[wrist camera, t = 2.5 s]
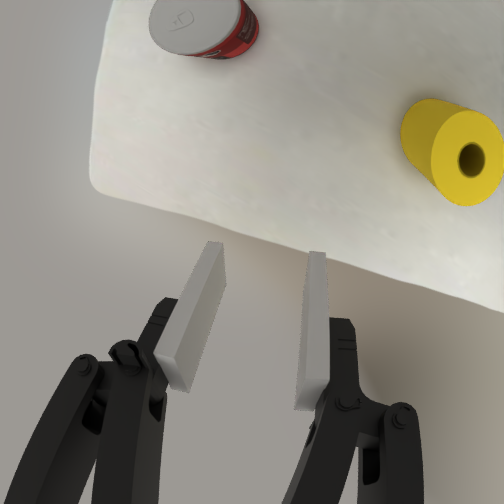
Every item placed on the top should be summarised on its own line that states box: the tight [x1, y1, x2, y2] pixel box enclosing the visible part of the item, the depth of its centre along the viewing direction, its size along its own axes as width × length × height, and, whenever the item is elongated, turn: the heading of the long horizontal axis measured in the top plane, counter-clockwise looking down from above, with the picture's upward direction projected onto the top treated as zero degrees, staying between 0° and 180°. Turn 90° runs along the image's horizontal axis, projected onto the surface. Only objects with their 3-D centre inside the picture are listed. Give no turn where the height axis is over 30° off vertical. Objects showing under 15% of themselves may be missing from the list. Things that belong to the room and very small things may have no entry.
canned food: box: [149, 0, 259, 59], centre depth 20 cm, size 8×8×11 cm
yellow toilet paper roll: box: [400, 99, 504, 206], centre depth 23 cm, size 10×10×9 cm
